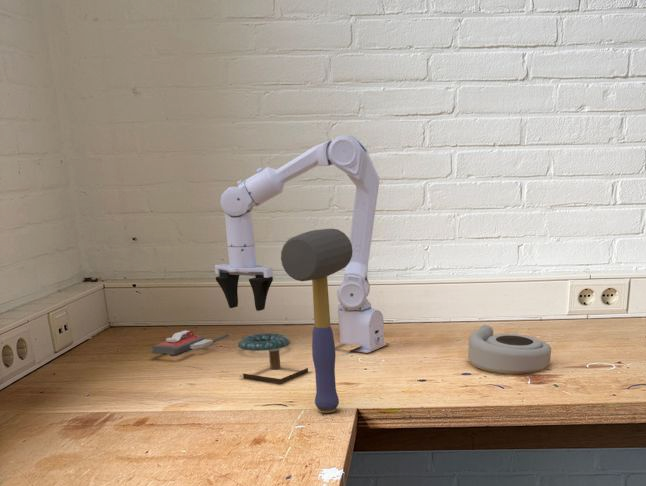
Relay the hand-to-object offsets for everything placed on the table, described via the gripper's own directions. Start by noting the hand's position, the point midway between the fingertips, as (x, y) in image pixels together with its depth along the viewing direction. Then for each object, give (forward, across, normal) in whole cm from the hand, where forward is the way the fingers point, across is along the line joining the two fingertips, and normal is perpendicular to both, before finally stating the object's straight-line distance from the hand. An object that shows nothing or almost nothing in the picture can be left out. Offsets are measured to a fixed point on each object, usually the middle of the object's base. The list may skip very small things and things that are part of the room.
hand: (246, 308), depth 175 cm
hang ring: (+8, +4, 0) cm, 9 cm away
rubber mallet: (+9, +41, -29) cm, 51 cm away
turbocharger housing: (+9, +57, +11) cm, 59 cm away
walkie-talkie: (+9, -11, -7) cm, 16 cm away
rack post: (+9, +19, -15) cm, 26 cm away
